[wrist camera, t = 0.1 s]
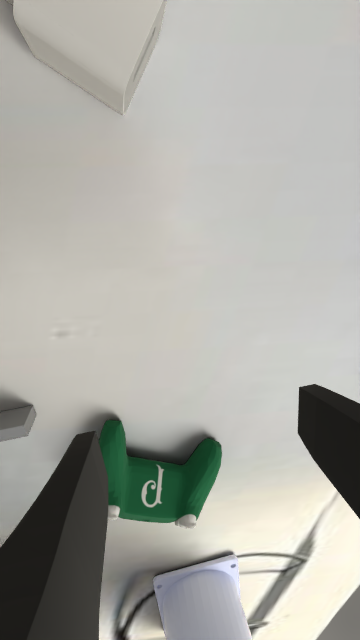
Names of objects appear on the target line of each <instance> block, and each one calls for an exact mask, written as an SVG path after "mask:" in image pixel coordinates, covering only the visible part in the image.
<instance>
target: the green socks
mask: <svg viewBox="0 0 360 640" xmlns="http://www.w3.org/2000/svg"><path fill="white" fill-rule="evenodd" d="M99 445H100V449H101V453H102V456H103V460H104V464H105V468H106V471H107V475H108V520H117V519H118V517H120V518H123V519H130V520H137V521H145V522H158V523H170V522H174V521H175V525H177V526H180V527H183V528H195V527H196V520H197V519H198V517H199V514H200V512H201V510H202V507H203V505H204V503H205V500H206V498H207V496H208V494H209V492H210V490H211V488H212V486H213V484H214V482H215V480H216V477H217V474H218V471H219V468H220V466H221V457H222V450H221V445H220V443H219V442H217V441H215V440H212V439H210V438H207V439H205V440H204V441H202V442H201V443H200V444H199V445H198V447H197V448H196V450H195V451H194V452H193V454H192V455H191V457H190V458H189V460H188V461H187V462H186V463H185V464H184V465H177V464H174V463H165V462H160V461H154V460H147V459H142V458H138V457H129V456H128V455H127V454H126V439H125V432H124V428H123V425H122V422H121V421H116V420H107V421H106V422H105V424H104V427H103V429H102V432H101V435H100V439H99Z"/></svg>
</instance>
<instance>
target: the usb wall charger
mask: <svg viewBox="0 0 360 640" xmlns="http://www.w3.org/2000/svg"><path fill="white" fill-rule="evenodd" d="M5 1H7V2H8V3H10V4H11V5H13V15H14V20H15V23H16V24H17V26H18V28H19V30H20V32H21V33H22V35H23V37H24V39H25V40H26V42H27V44H28V46H29V48H30V49H31V51H32V53H33V55H34V56H35V57H36V58H38V59H39V60H41V61H42V62H44V63H45V64H47V65H48V66H49V67H51V68H52V69H54V70H55V71H57V72H58V73H60V74H61V75H63V76H64V77H66V78H67V79H69V80H70V81H72V82H73V83H75V84H76V85H78V86H79V87H81V88H82V89H84V90H85V91H87V92H88V93H90V94H91V95H93V96H94V97H96V98H97V99H99V100H100V101H102V102H103V103H105V104H106V105H108V106H109V107H111V108H112V109H114V110H115V111H117V112H118V113H120V114H121V115H123V116H124V115H125V113H126V111H127V109H128V107H129V105H130V102H131V100H132V98H133V96H134V93H135V91H136V89H137V86H138V84H139V82H140V80H141V77H142V75H143V73H144V71H145V68H146V66H147V64H148V62H149V59H150V57H151V55H152V52H153V50H154V48H155V45H156V43H157V40H158V37H159V34H160V31H161V27H162V22H163V18H164V13H165V8H166V4H167V0H5Z"/></svg>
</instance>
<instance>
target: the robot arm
mask: <svg viewBox="0 0 360 640" xmlns="http://www.w3.org/2000/svg"><path fill="white" fill-rule="evenodd" d="M298 434H299V436H300V438H301V439H302V441H303V443H304V445H305V446H306V448H307V450H308V451H309V453H310V454H311V456H312V458H313V459H314V461H315V462H316V463H317V465H318V466H319V467H320V469H321V470H322V471H323V472H324V474H325V475H326V476H327V478H328V479H329V480H330V482H331V483H332V484H333V485H334V487H335V488H336V489H337V491H338V492H339V493H340V494H341V496H342V497H343V498H344V499H345V501H346V502H347V503H348V505H349V506H350V507H351V508H352V510H353V511H354V512H355V514H356V515H357V516H358V517H359V519H360V404H359V403H357V402H355V401H353V400H351V399H348V398H346V397H344V396H342V395H340V394H337V393H335V392H333V391H331V390H328V389H326V388H324V387H321V386H319V385H316V384H313V385H308V386H303V387H299V411H298ZM107 520H108V475H107V471H106V468H105V464H104V460H103V456H102V453H101V449H100V445H99V442H98V438H97V434H96V431H92V432H87V433H82V434H78V435H76V436H75V438H74V439H73V441H72V443H71V444H70V446H69V448H68V449H67V451H66V453H65V454H64V456H63V458H62V459H61V461H60V463H59V464H58V466H57V468H56V469H55V471H54V473H53V474H52V476H51V477H50V479H49V480H48V482H47V483H46V485H45V487H44V488H43V490H42V491H41V493H40V494H39V496H38V497H37V499H36V500H35V502H34V503H33V504H32V506H31V507H30V509H29V510H28V511H27V513H26V514H25V516H24V517H23V519H22V520H21V521H20V523H19V524H18V526H17V527H16V528H15V530H14V531H13V532H12V534H11V535H10V536H9V538H8V539H7V540H6V541H5V543H4V544H3V545H2V547H1V548H0V640H99V607H100V592H101V582H102V572H103V561H104V551H105V541H106V531H107ZM153 586H154V590H155V594H156V598H157V603H158V607H159V611H160V616H161V620H162V624H163V629H164V633H165V637H166V640H252V636H251V633H250V630H249V626H248V623H247V620H246V617H245V613H244V610H243V607H242V603H241V599H240V584H239V569H238V559H237V556H236V555H229V556H225V557H222V558H218V559H215V560H211V561H208V562H204V563H200V564H197V565H193V566H190V567H186V568H182V569H179V570H175V571H172V572H168V573H164V574H161V575H157V576H155V577H154V578H153Z"/></svg>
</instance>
